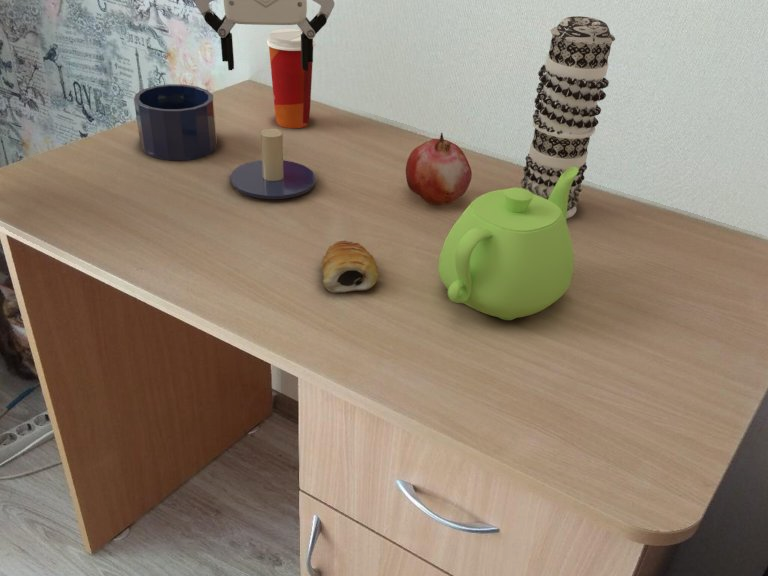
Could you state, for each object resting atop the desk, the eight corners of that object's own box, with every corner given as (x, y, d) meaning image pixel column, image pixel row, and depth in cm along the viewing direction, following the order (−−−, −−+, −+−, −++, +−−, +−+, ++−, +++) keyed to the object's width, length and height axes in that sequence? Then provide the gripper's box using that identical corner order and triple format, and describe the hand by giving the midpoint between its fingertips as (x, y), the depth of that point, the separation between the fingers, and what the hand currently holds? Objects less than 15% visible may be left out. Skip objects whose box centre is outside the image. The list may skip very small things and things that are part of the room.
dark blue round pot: (138, 160, 116) (130, 110, 111) (145, 131, 125) (138, 83, 120) (216, 160, 118) (211, 111, 113) (217, 131, 126) (213, 84, 121)
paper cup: (296, 110, 136) (295, 25, 127) (324, 124, 131) (325, 37, 123) (259, 119, 131) (255, 31, 122) (287, 134, 127) (285, 44, 118)
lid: (230, 203, 107) (226, 150, 102) (230, 166, 116) (227, 116, 111) (318, 202, 109) (318, 150, 104) (312, 166, 118) (312, 116, 113)
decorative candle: (510, 213, 110) (543, 25, 94) (521, 187, 117) (553, 8, 101) (574, 226, 108) (619, 36, 92) (581, 199, 115) (624, 18, 99)
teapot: (510, 238, 104) (527, 143, 96) (607, 283, 97) (635, 184, 88) (399, 297, 91) (408, 193, 83) (501, 354, 84) (522, 246, 75)
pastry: (318, 254, 98) (319, 227, 95) (372, 254, 99) (373, 227, 96) (323, 295, 91) (324, 266, 88) (380, 294, 92) (382, 266, 89)
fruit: (417, 179, 117) (423, 113, 111) (476, 194, 114) (485, 127, 108) (391, 202, 110) (396, 133, 104) (453, 218, 108) (462, 149, 101)
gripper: (184, -80, 87) (200, 76, 98) (337, -75, 90) (336, 77, 101) (187, -91, 93) (202, 57, 104) (331, -86, 96) (331, 59, 107)
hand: (268, 67), depth 102 cm, fingers open, 9 cm apart
